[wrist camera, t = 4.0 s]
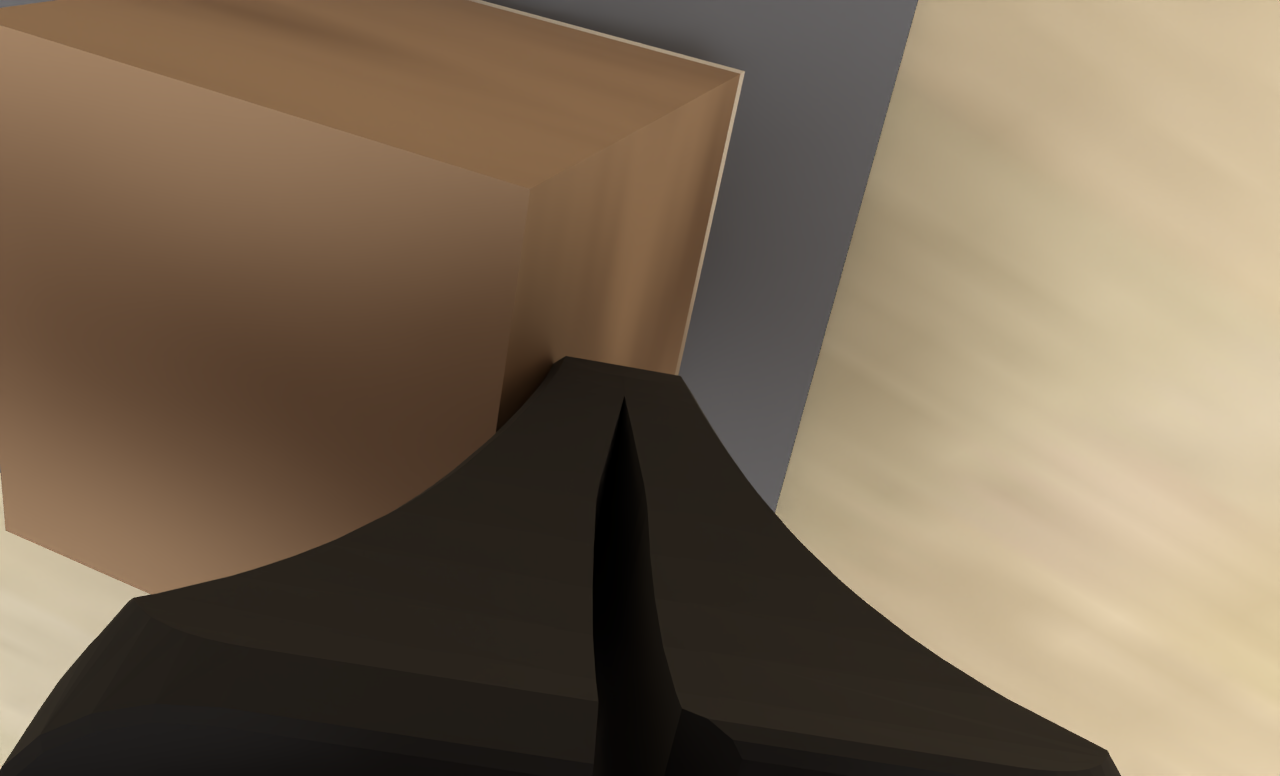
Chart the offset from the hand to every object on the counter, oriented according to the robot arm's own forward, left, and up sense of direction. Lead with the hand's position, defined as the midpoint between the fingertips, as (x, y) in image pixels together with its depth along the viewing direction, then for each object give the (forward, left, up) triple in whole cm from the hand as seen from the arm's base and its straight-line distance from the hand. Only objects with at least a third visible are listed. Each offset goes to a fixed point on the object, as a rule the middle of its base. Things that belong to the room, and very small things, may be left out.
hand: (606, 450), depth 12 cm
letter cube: (0, +2, -6) cm, 6 cm away
